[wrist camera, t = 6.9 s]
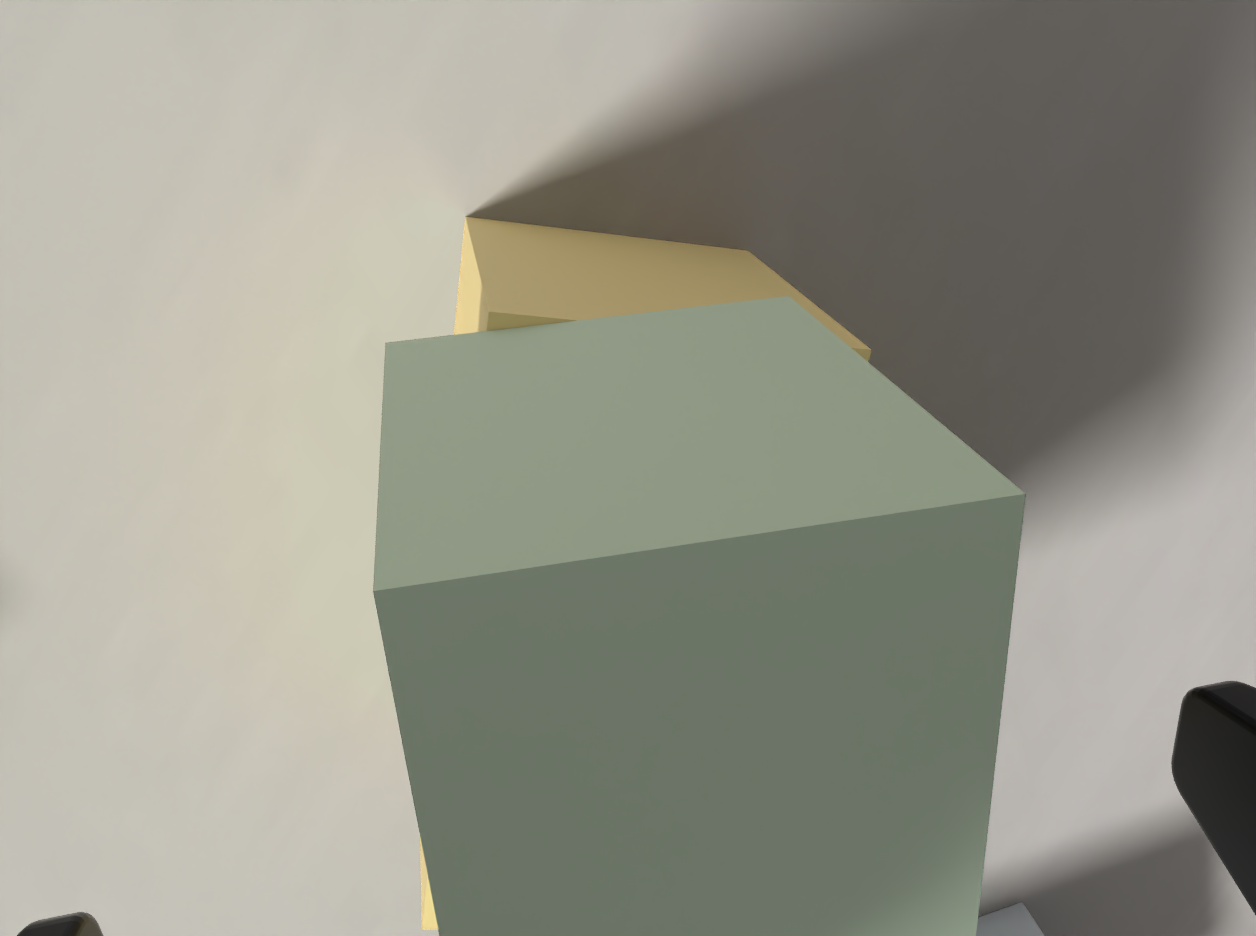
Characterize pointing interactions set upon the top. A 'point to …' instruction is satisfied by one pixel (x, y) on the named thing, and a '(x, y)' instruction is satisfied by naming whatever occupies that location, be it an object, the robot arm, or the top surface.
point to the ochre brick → (598, 295)
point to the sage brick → (690, 629)
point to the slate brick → (1008, 923)
